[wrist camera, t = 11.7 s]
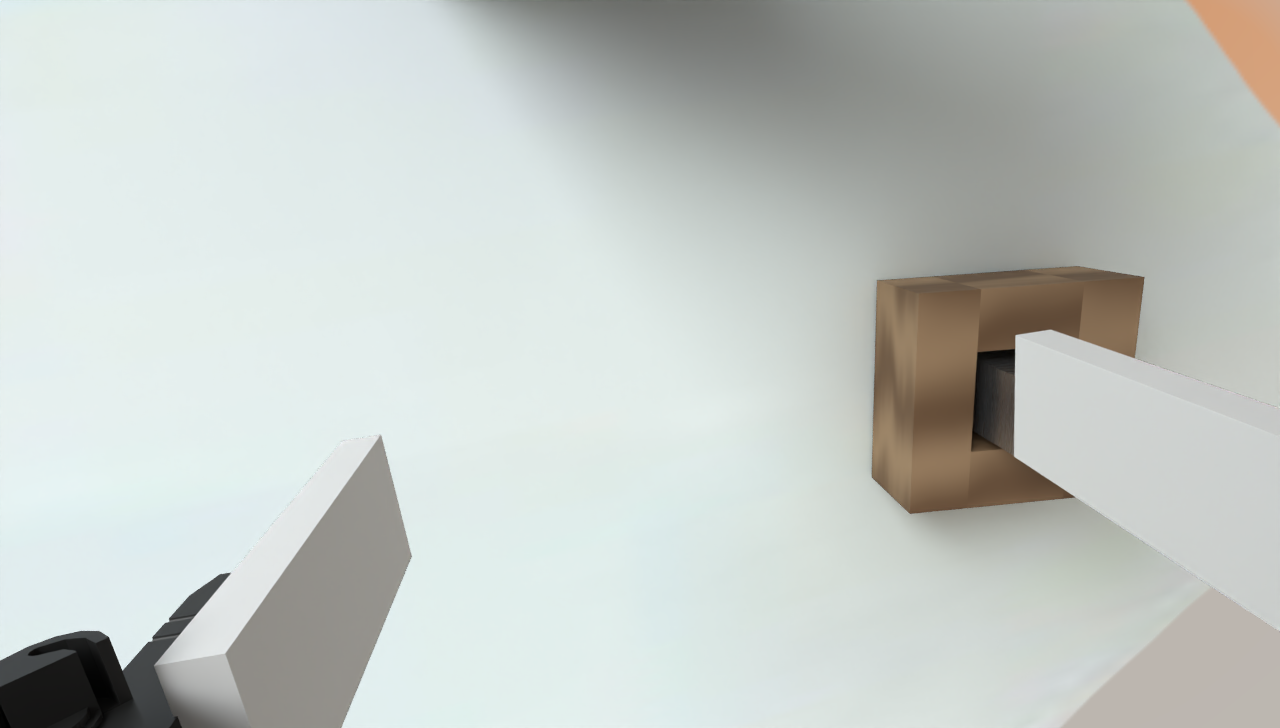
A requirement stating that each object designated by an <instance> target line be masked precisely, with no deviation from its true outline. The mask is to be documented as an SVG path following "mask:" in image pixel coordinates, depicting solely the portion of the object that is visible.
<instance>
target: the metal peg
mask: <svg viewBox="0 0 1280 728" xmlns="http://www.w3.org/2000/svg"><path fill="white" fill-rule="evenodd" d="M1014 414H1015V349H1008V350H995V351H983V352H977V364H976V380H975V395H974V411H973V427H972V431H974V432H976V433H977V434H979V435H981V436H982V437H984V438H985V439H987V440H989V441H990V442H992V443H994V444H995V445H997V446H999V447H1000V448H1002V449H1003V450H1005V451H1007V452H1008V453H1010V454H1012V455H1013V456H1014Z"/></svg>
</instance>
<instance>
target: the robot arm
mask: <svg viewBox="0 0 1280 728" xmlns="http://www.w3.org/2000/svg"><path fill="white" fill-rule="evenodd" d="M1014 457H1015V458H1017V459H1018V460H1020V461H1021V462H1023V463H1025V464H1026V465H1028V466H1029V467H1031V468H1032V469H1034V470H1035V471H1037V472H1038V473H1040V474H1041V475H1043V476H1044V477H1046V478H1047V479H1049V480H1050V481H1052V482H1053V483H1055V484H1056V485H1058V486H1059V487H1061V488H1062V489H1064V490H1065V491H1067V492H1068V493H1070V494H1071V495H1073V496H1075V497H1076V498H1078V499H1079V500H1081V501H1082V502H1084V503H1085V504H1087V505H1088V506H1090V507H1091V508H1093V509H1094V510H1096V511H1097V512H1099V513H1100V514H1102V515H1103V516H1105V517H1106V518H1108V519H1109V520H1111V521H1112V522H1114V523H1115V524H1117V525H1118V526H1120V527H1122V528H1123V529H1125V530H1126V531H1128V532H1129V533H1131V534H1132V535H1134V536H1135V537H1137V538H1138V539H1140V540H1141V541H1143V542H1144V543H1146V544H1147V545H1149V546H1150V547H1152V548H1153V549H1155V550H1156V551H1158V552H1159V553H1161V554H1162V555H1164V556H1165V557H1167V558H1168V559H1170V560H1172V561H1173V562H1175V563H1176V564H1178V565H1179V566H1181V567H1182V568H1184V569H1185V570H1187V571H1188V572H1190V573H1191V574H1193V575H1194V576H1196V577H1197V578H1199V579H1200V580H1202V581H1203V582H1205V583H1206V584H1208V585H1209V586H1211V587H1212V588H1214V589H1215V590H1217V591H1219V592H1220V593H1222V594H1223V595H1225V596H1226V597H1228V598H1229V599H1231V600H1232V601H1234V602H1235V603H1237V604H1238V605H1240V606H1241V607H1243V608H1244V609H1246V610H1247V611H1249V612H1250V613H1252V614H1253V615H1255V616H1256V617H1258V618H1259V619H1261V620H1263V621H1264V622H1266V623H1267V624H1269V625H1270V626H1272V627H1273V628H1275V629H1276V630H1278V631H1279V632H1280V408H1278V407H1275V406H1272V405H1269V404H1266V403H1263V402H1260V401H1257V400H1254V399H1251V398H1249V397H1246V396H1243V395H1240V394H1237V393H1234V392H1231V391H1228V390H1225V389H1222V388H1219V387H1217V386H1214V385H1211V384H1208V383H1205V382H1202V381H1199V380H1196V379H1193V378H1190V377H1187V376H1184V375H1182V374H1179V373H1176V372H1173V371H1170V370H1167V369H1164V368H1161V367H1158V366H1155V365H1152V364H1150V363H1147V362H1144V361H1141V360H1138V359H1135V358H1132V357H1129V356H1126V355H1123V354H1120V353H1118V352H1115V351H1112V350H1109V349H1106V348H1103V347H1100V346H1097V345H1094V344H1091V343H1088V342H1086V341H1083V340H1080V339H1077V338H1074V337H1071V336H1068V335H1065V334H1062V333H1059V332H1056V331H1053V330H1045V331H1039V332H1032V333H1026V334H1019V335H1016V338H1015V414H1014ZM411 557H412V556H411V552H410V548H409V544H408V540H407V536H406V532H405V528H404V524H403V520H402V516H401V512H400V508H399V504H398V500H397V496H396V492H395V488H394V484H393V480H392V476H391V472H390V468H389V464H388V460H387V457H386V453H385V449H384V445H383V441H382V437H381V435H375V436H369V437H362V438H356V439H350V440H343V441H341V443H340V444H339V445H338V446H337V447H336V449H335V450H334V451H333V452H332V453H331V455H330V456H329V457H328V458H327V459H326V461H325V462H324V463H323V464H322V465H321V467H320V468H319V469H318V470H317V471H316V472H315V474H314V475H313V476H312V477H311V478H310V480H309V481H308V482H307V483H306V484H305V486H304V487H303V488H302V489H301V490H300V492H299V493H298V494H297V495H296V496H295V498H294V499H293V500H292V501H291V502H290V504H289V505H288V506H287V507H286V508H285V510H284V511H283V512H282V513H281V514H280V516H279V517H278V518H277V519H276V520H275V521H274V523H273V524H272V525H271V526H270V527H269V529H268V530H267V531H266V532H265V533H264V535H263V536H262V537H261V538H260V539H259V541H258V542H257V543H256V544H255V545H254V547H253V548H252V549H251V550H250V551H249V553H248V554H247V555H246V556H245V557H244V559H243V560H242V561H241V562H240V563H239V565H238V566H237V567H236V568H235V569H234V570H233V572H232V573H226V574H220V575H218V576H217V577H216V578H214V579H213V580H211V581H210V582H208V583H207V584H206V585H204V586H203V587H201V588H200V589H198V590H197V591H196V592H194V593H193V594H191V595H190V596H189V597H188V598H187V599H186V600H185V601H184V602H183V604H182V605H181V606H180V607H179V608H178V609H177V610H176V611H175V613H174V614H173V615H172V616H171V617H170V618H169V622H168V623H165V624H164V625H163V626H162V627H161V628H160V629H159V630H158V632H157V633H156V634H155V635H154V636H153V637H152V638H153V641H152V642H148V643H147V644H146V645H145V646H144V647H143V648H142V650H141V651H140V652H139V653H138V654H137V655H136V656H135V657H134V659H133V660H132V661H131V662H130V663H129V664H128V665H127V666H126V668H125V669H124V670H123V671H122V669H121V666H120V664H119V661H118V659H117V656H116V654H115V651H114V649H113V646H112V644H111V641H110V639H109V637H108V636H106V635H105V634H103V633H101V632H100V631H79V632H74V633H70V634H65V635H61V636H56V637H53V638H51V639H48V640H45V641H42V642H40V643H37V644H34V645H32V646H29V647H27V648H25V649H23V650H21V651H19V652H17V653H15V654H13V655H11V656H9V657H7V658H5V659H3V660H1V661H0V728H341V727H342V725H343V722H344V720H345V717H346V715H347V712H348V710H349V708H350V705H351V703H352V700H353V698H354V695H355V693H356V691H357V688H358V686H359V683H360V681H361V678H362V676H363V674H364V671H365V669H366V666H367V664H368V661H369V659H370V657H371V654H372V652H373V649H374V647H375V644H376V642H377V639H378V637H379V635H380V632H381V630H382V627H383V625H384V622H385V620H386V618H387V615H388V613H389V610H390V608H391V605H392V603H393V601H394V598H395V596H396V593H397V591H398V588H399V586H400V584H401V581H402V579H403V576H404V574H405V571H406V569H407V567H408V564H409V562H410V559H411Z"/></svg>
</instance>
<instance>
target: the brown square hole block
mask: <svg viewBox="0 0 1280 728" xmlns="http://www.w3.org/2000/svg"><path fill="white" fill-rule="evenodd" d="M1143 285H1144V277H1140V276H1134V275H1128V274H1122V273H1116V272H1110V271H1103V270H1097V269H1091V268H1085V267H1079V266H1074V267H1060V268H1046V269H1032V270H1018V271H1004V272H990V273H976V274H962V275H948V276H934V277H920V278H906V279H892V280H878V281H877V304H876V341H875V378H874V415H873V452H872V478H873V479H874V480H875V481H876V482H877V483H878V484H880V485H881V486H882V487H883V488H884V489H885V490H886V491H887V492H888V493H889V494H890V495H891V496H892V497H893V498H894V499H895V500H896V501H897V502H898V503H899V504H900V505H901V506H902V507H903V508H904V509H905V510H906V511H907V512H909V513H910V514H912V513H922V512H932V511H942V510H952V509H963V508H973V507H983V506H993V505H1003V504H1013V503H1023V502H1033V501H1043V500H1054V499H1064V498H1074V497H1075V496H1073V495H1071V494H1070V493H1068V492H1067V491H1065V490H1064V489H1062V488H1061V487H1059V486H1058V485H1056V484H1055V483H1053V482H1052V481H1050V480H1049V479H1047V478H1046V477H1044V476H1043V475H1041V474H1040V473H1038V472H1037V471H1035V470H1034V469H1032V468H1031V467H1029V466H1028V465H1026V464H1025V463H1023V462H1021V461H1020V460H1018V459H1017V458H1015V457H1014V456H1013V455H1012V454H1010V453H1008V452H1007V451H1005V450H1003V449H1002V448H1000V447H999V446H997V445H995V444H994V443H992V442H990V441H989V440H987V439H985V438H984V437H982V436H981V435H979V434H977V433H976V432H974V431H972V427H973V411H974V395H975V380H976V364H977V352H983V351H995V350H1008V349H1015V338H1016V335H1019V334H1026V333H1032V332H1039V331H1045V330H1053V331H1056V332H1059V333H1062V334H1065V335H1068V336H1071V337H1074V338H1077V339H1080V340H1083V341H1086V342H1088V343H1091V344H1094V345H1097V346H1100V347H1103V348H1106V349H1109V350H1112V351H1115V352H1118V353H1120V354H1123V355H1126V356H1129V357H1132V358H1135V351H1136V343H1137V335H1138V326H1139V318H1140V310H1141V302H1142V293H1143Z"/></svg>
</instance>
